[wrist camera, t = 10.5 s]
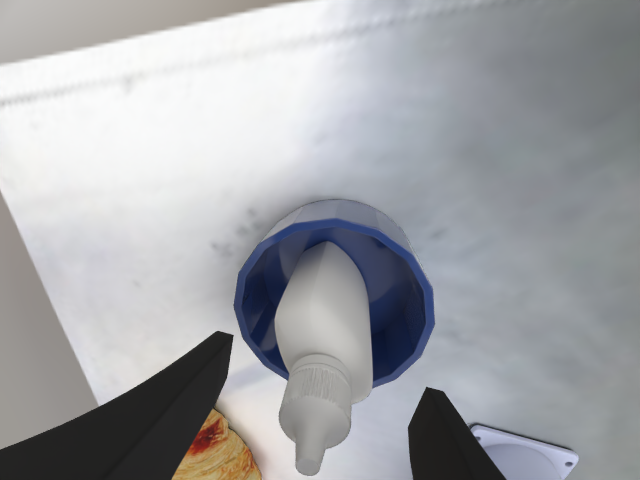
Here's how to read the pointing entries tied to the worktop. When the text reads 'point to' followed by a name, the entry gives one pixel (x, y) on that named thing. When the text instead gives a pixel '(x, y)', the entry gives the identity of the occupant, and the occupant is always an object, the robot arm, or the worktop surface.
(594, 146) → the worktop surface
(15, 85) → the worktop surface
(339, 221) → the blue bowl
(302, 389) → the eye dropper bottle
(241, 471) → the croissant
